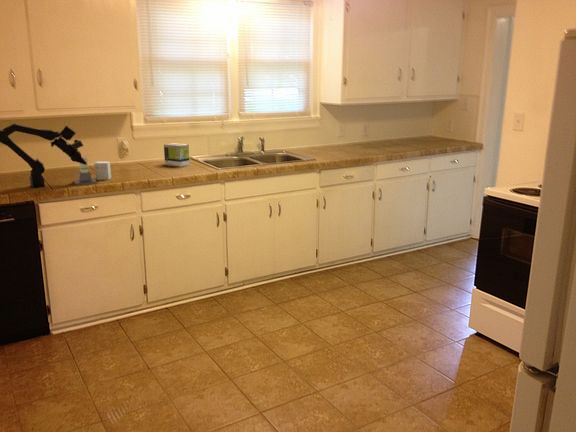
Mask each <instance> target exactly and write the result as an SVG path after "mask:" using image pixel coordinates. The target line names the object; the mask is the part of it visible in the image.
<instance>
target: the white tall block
mask: <svg viewBox="0 0 576 432" xmlns="http://www.w3.org/2000/svg"><path fill="white" fill-rule="evenodd" d="M81 157H82V158H83V159H84V161H85V162H86V163H87V164H86V165H85V164H82V163H79V172H81V173H88V171H89V167H88V158H87V156H81Z"/></svg>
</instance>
